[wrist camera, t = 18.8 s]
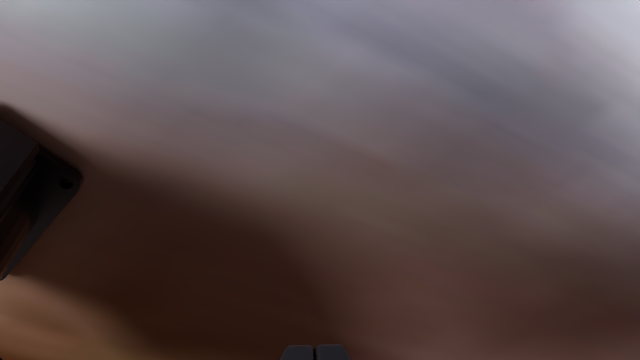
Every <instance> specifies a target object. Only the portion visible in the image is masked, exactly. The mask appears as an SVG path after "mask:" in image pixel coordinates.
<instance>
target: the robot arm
mask: <svg viewBox="0 0 640 360" xmlns="http://www.w3.org/2000/svg"><path fill="white" fill-rule="evenodd" d="M62 177H66V178H69V179H70V180H71V181H72V183H67V182H65V181H64V180H63V179H62ZM82 182H83V176H82V174H81V172H80V171H79V170H77V169H76V168H75V167H73V166H72V165H70V164H68V163H67V162H65V161H64V160H62V159H61V158H59V157H57V156H56V155H54V154H53V153H51V152H50V151H48V150H46V149H45V148H43V147H42V146H40V145H38V144H37V143H36V142H35V141H33V140H32V139H30V138H29V137H27V136H26V135H24V134H22V133H21V132H19V131H18V130H16V129H15V128H13V127H11V126H10V125H8V124H7V123H5V122H4V121H2V120H0V281H1V280H3V279H4V278H6V276H7V275H8V274H9V273H10V272H11V270H12V269H13V268H14V267H15V266H16V264H17V263H18V262H19V261H20V260H21V258H22V257H23V256H24V255H25V254H26V252H27V251H28V250H29V249H30V248H31V247H32V245H33V244H34V243H35V242H36V241H37V239H38V238H39V237H40V236H41V235H42V233H43V232H44V231H45V230H46V229H47V227H48V226H49V225H50V224H51V223H52V221H53V220H54V219H55V218H56V217H57V215H58V214H59V213H60V212H61V211H62V209H63V208H64V207H65V206H66V205H67V203H68V202H69V201H70V200H71V199H72V197H73V196H74V195H75V194H76V193H77V191H78V190H79V188H80V186H81V184H82ZM0 360H2V359H1V358H0ZM279 360H352V359H351V357H350V356H349V354H348V352H347V350H346V349H345V347H344V346H343V345H341V344H319V345H317V346H316V347H315V354H314V347H313V346H312V345H289V346H287V347H286V348H285V349H284V351H283V353H282V355H281V357H280V359H279Z"/></svg>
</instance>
